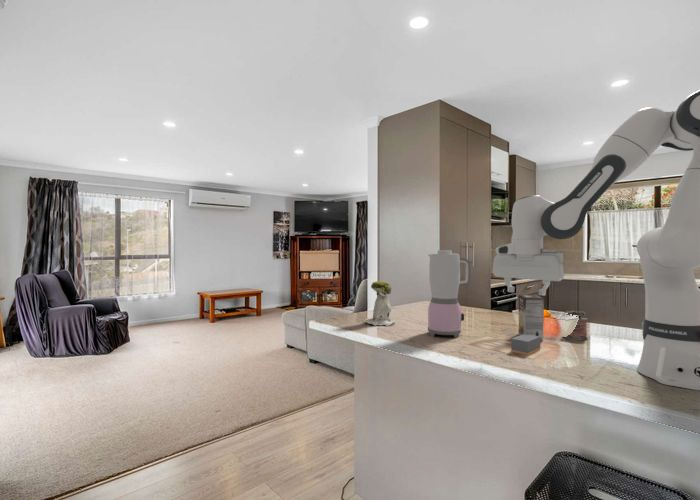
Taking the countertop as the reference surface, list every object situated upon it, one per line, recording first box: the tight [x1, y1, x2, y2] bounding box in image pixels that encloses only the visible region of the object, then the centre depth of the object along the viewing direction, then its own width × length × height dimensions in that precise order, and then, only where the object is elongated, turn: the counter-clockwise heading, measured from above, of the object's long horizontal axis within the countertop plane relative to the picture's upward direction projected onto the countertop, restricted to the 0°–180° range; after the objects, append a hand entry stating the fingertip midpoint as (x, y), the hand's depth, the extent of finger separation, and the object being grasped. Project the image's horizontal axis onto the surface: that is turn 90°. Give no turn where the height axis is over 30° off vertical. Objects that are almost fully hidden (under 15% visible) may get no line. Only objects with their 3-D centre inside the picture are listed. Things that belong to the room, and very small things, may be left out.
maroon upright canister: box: [563, 310, 588, 341], centre depth 135 cm, size 8×3×10 cm, turn 76°
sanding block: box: [510, 334, 541, 355], centre depth 115 cm, size 5×9×4 cm, turn 132°
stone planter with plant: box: [365, 280, 396, 327], centre depth 161 cm, size 12×13×18 cm
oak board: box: [464, 336, 552, 360], centre depth 119 cm, size 22×14×2 cm, turn 42°
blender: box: [427, 249, 471, 339], centre depth 141 cm, size 16×12×32 cm
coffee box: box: [518, 294, 545, 342], centre depth 131 cm, size 9×6×16 cm
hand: (526, 293), depth 114 cm, fingers open, 8 cm apart
